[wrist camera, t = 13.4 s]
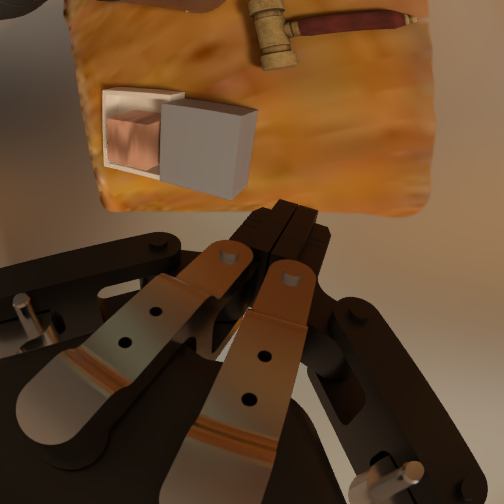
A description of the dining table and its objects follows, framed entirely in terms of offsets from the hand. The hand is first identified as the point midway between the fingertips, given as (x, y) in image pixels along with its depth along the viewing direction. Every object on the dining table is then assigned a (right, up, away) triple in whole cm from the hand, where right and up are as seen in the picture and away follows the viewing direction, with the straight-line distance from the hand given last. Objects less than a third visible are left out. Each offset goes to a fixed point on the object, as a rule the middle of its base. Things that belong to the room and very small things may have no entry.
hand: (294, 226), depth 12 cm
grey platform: (-7, +16, +35) cm, 39 cm away
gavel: (+9, +28, +20) cm, 36 cm away
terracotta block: (-15, +15, +33) cm, 40 cm away
